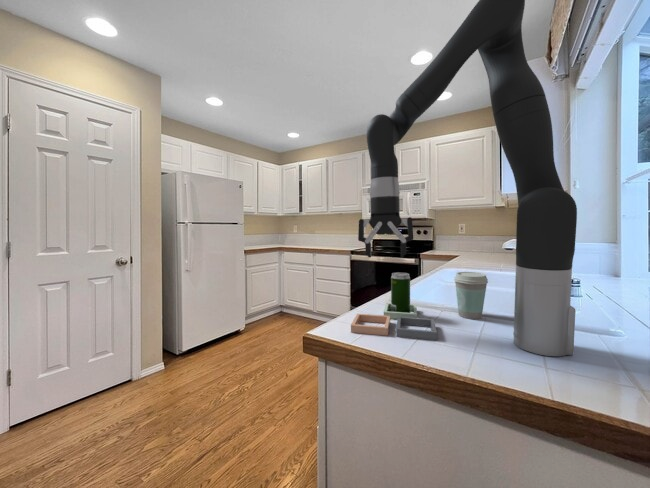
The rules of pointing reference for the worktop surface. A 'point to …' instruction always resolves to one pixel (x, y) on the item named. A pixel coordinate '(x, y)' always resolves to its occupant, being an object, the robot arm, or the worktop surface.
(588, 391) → the worktop surface
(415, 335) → the charcoal frame
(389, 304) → the sage frame
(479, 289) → the coffee cup
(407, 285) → the beer can
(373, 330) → the terracotta frame
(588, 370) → the worktop surface
